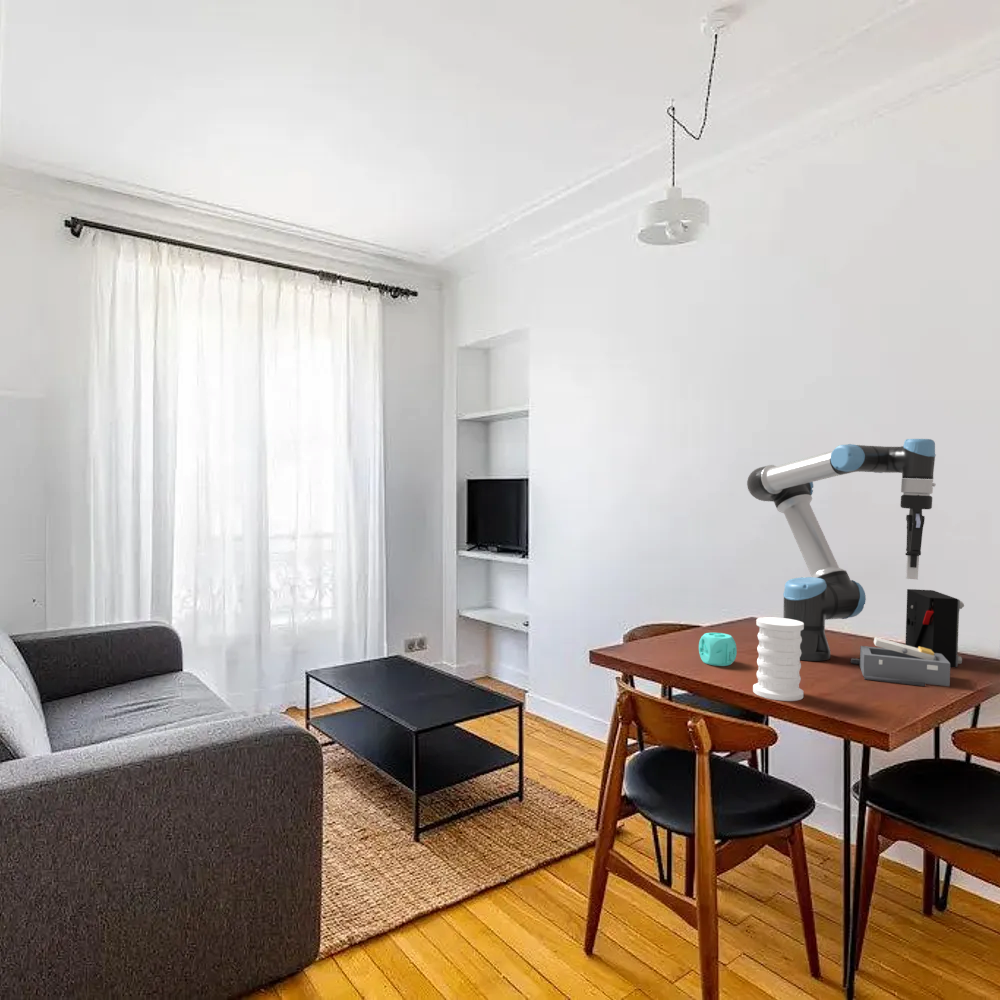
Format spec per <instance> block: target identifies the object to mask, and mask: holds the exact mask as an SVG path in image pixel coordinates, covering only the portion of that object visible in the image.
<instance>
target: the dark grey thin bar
mask: <svg viewBox="0 0 1000 1000" xmlns="http://www.w3.org/2000/svg"><path fill="white" fill-rule="evenodd" d="M863 679H864V680H867V681H876V682H881V683H882V682H883V683H891V684H901V685H909V686H918V687H926V684H925V682H916V681H908V680H899V679H890V678H881V677H872V676H864V677H863Z"/></svg>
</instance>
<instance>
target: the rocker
mask: <svg viewBox="0 0 1000 1000" xmlns="http://www.w3.org/2000/svg"><path fill="white" fill-rule="evenodd" d="M873 644H874V647H875V646H876V647H878V648H885V649H889V650H893V651H896V652H900V653H904V654H907V655H911V656H915V657H918V658H922V659H926V660H934V657H935V656H934V652H933V651H932V650H931V649H927V648H924V647H920V646H919V647H918V648H915V647H912V646H908V645H905V643H904V644H903V643H901V642H896V641H893V640H889V639H884V638H880V637H877V636H874V639H873Z"/></svg>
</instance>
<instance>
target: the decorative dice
mask: <svg viewBox="0 0 1000 1000" xmlns="http://www.w3.org/2000/svg"><path fill="white" fill-rule="evenodd" d="M737 649H738V648H737V643H736V641H735V639H734V637H733V636H732V635H731V634H728V633H724V632H706V633H705V632H704V634H703V635H701V637H700V639H699V642H698V653H699V657H700V659H701V661H702V663H704V664H707V665H710V666H715V667H727V666H731V665H732V664H733V663H734V662H735V661H736V658H737V651H738V650H737Z"/></svg>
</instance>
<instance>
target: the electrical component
mask: <svg viewBox="0 0 1000 1000" xmlns="http://www.w3.org/2000/svg"><path fill="white" fill-rule="evenodd" d="M906 590H907V591H906V617H905V618H906V620H905V643H904V645H908V646H912V647H915V648H918V647H919V646H920V647H924V648H927V649H931V650H932V651H933V652H934V653H940V654H942V655H943V656H944V657H945V658H946V659H947V660H948V661H949V663H950V668H952V667H956V668H958V667H959V666H958V665H959V664H962V662H963V658H962V656H960V655H959V653H958V651H959V627H960V625H959V621H960V610H961V609H963V608H964V607H965V605H964V604H965V603H964V602H963V601H961V599H959V598H956V597H953V596H950V595H948V594H945V593H942V592H938V591H937V590H932V589H916V588H915V589H913V588H912V589H911V588H910V589H909V588H908V589H906Z"/></svg>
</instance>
